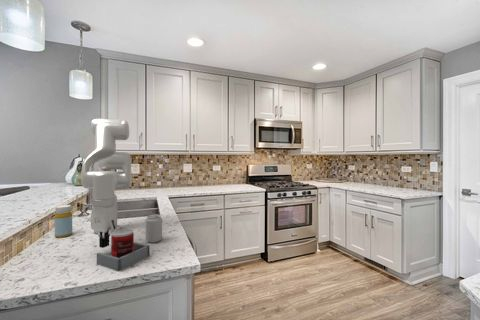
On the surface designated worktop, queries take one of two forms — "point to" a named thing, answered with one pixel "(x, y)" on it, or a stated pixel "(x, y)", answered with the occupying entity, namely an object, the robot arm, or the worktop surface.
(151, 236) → the can
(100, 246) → the robot arm
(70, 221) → the bottle
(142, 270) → the worktop surface
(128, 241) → the canned food
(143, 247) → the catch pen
